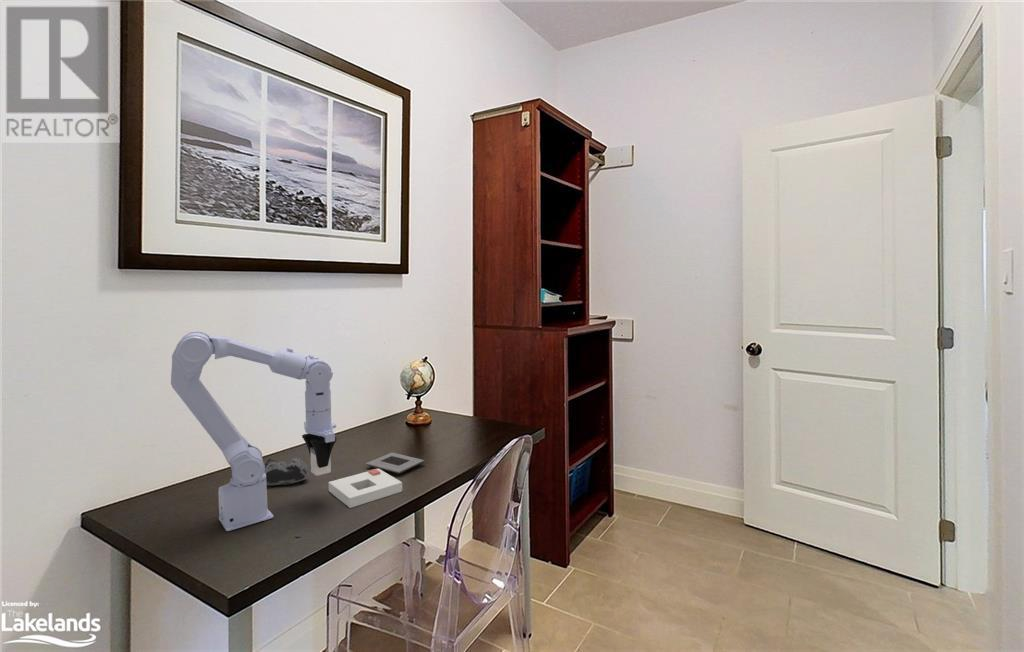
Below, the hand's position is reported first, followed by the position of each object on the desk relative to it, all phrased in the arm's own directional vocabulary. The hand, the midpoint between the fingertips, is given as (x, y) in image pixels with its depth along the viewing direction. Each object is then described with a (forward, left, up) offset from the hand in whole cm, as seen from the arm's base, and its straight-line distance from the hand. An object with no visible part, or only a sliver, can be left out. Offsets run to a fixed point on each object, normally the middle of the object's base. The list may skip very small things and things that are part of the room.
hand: (319, 464), depth 116 cm
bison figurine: (-2, +20, -10) cm, 23 cm away
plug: (0, 0, -2) cm, 2 cm away
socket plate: (+11, -1, -10) cm, 15 cm away
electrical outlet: (+25, +9, -10) cm, 29 cm away
